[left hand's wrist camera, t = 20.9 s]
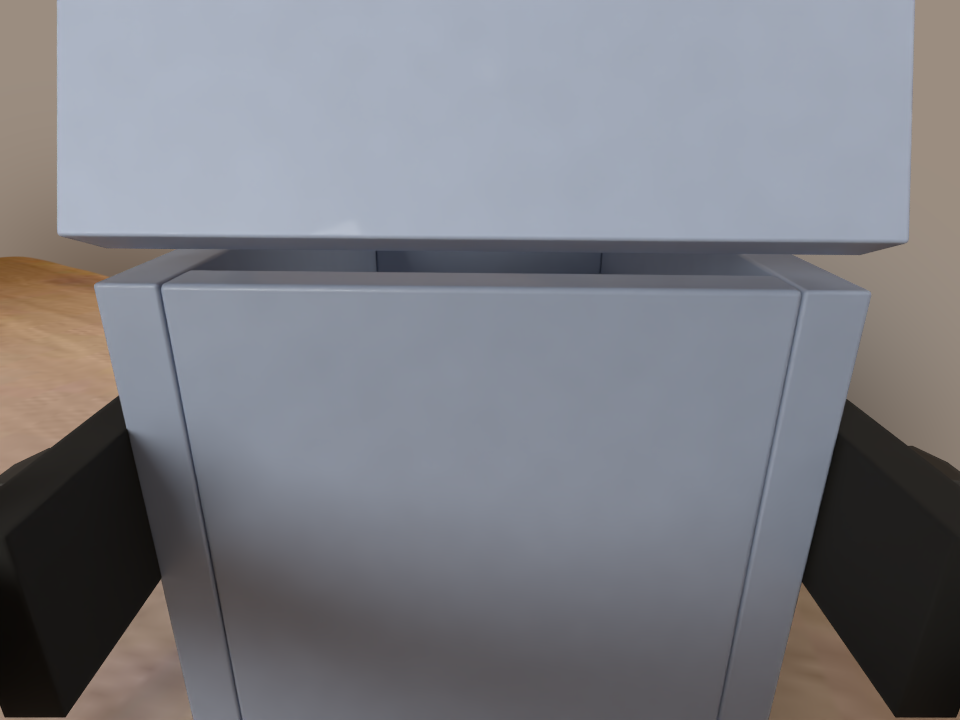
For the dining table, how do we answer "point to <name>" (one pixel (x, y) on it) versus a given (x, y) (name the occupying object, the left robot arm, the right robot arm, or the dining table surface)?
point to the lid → (486, 125)
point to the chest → (481, 475)
